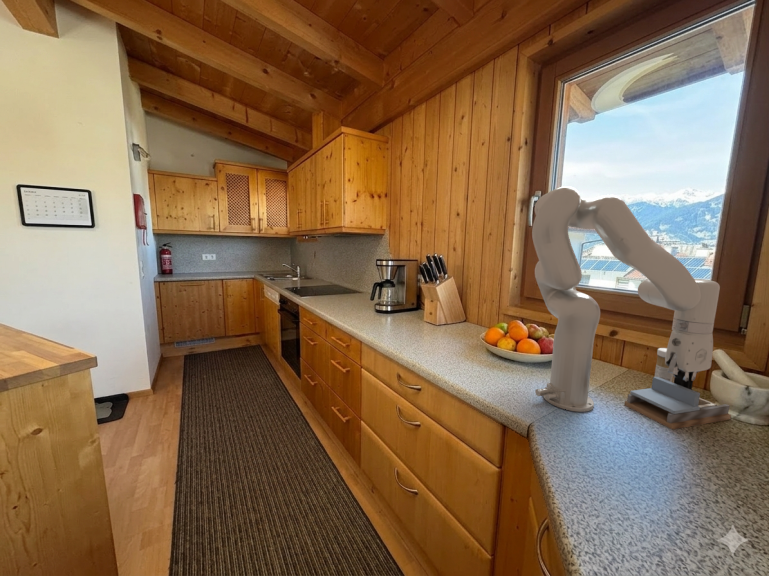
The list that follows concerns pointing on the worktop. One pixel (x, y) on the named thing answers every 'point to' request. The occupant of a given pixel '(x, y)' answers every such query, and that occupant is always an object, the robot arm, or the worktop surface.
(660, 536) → the worktop surface
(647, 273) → the robot arm
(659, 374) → the sprinkles bottle
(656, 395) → the lid
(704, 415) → the shallow wooden box
